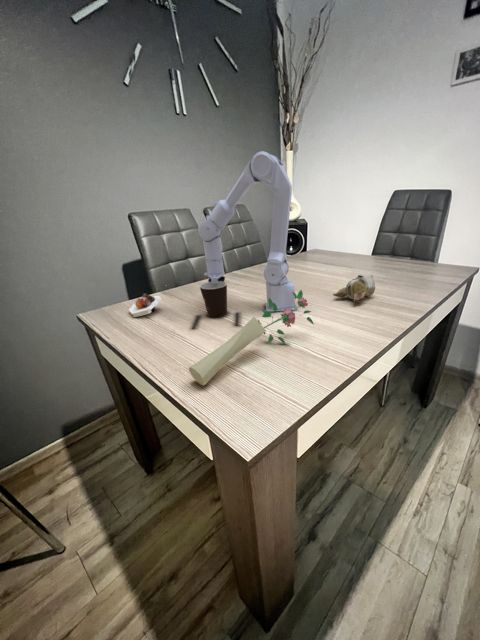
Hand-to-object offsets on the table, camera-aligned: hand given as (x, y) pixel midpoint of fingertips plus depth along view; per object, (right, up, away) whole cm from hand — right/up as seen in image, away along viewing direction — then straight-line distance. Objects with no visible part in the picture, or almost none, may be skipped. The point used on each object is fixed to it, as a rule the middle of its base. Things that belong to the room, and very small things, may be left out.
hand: (219, 297), depth 99 cm
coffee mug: (+1, -6, -6) cm, 9 cm away
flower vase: (+14, -20, -32) cm, 40 cm away
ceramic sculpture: (+50, -1, -1) cm, 50 cm away
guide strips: (+1, -10, -12) cm, 15 cm away
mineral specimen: (-25, -6, -2) cm, 26 cm away
